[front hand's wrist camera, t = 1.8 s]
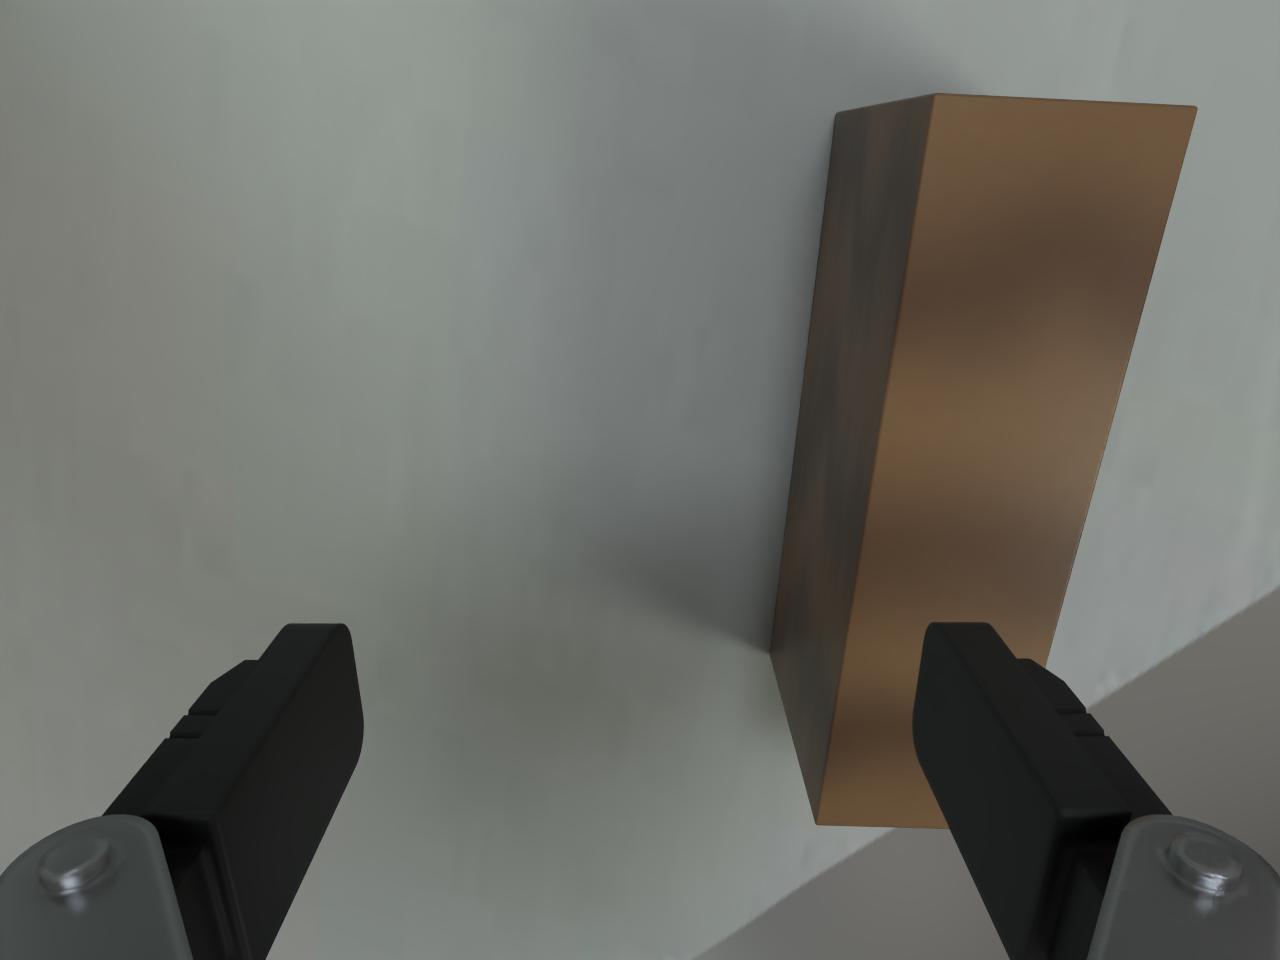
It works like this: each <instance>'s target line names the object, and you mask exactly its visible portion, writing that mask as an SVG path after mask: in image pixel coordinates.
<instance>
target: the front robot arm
mask: <svg viewBox="0 0 1280 960" xmlns="http://www.w3.org/2000/svg"><path fill="white" fill-rule="evenodd" d="M363 732H364V719H363V711H362V704H361V698H360V691H359V684H358V678H357V671H356V664H355V658H354V651H353V644H352V639H351V634H350V631H349V629H348V627H347V626H346V625H345V624H287V625H286V626H284V627H283V628H282V629H281V631H280V632H279V633H278V635H277V636H276V637H275V639H274V640H273V641H272V643H271V644H270V645H269V647H268V648H267V649H266V650H265V652H264V653H263V654H262V656H261V657H260V658H259V660H244V661H243V662H241V663H240V664H238V665H237V666H235V667H234V668H232V669H231V670H229V671H228V672H226V673H225V674H223V675H222V676H220V677H219V678H217V679H216V680H214V681H213V682H211V683H210V684H209V686H208V687H207V688H206V689H205V691H204V692H203V693H202V694H201V695H200V697H199V698H198V699H197V700H196V702H195V703H194V704H193V705H192V706H191V708H190V709H189V713H188V715H184V716H183V717H182V719H181V720H180V721H179V722H178V723H177V725H176V726H175V727H174V728H173V730H172V731H171V732H170V738H165V739H164V741H163V742H162V743H161V744H160V745H159V747H158V748H157V749H156V750H155V752H154V753H153V754H152V755H151V756H150V758H149V759H148V760H147V761H146V763H145V764H144V765H143V766H142V767H141V769H140V770H139V771H138V772H137V774H136V775H135V776H134V777H133V778H132V780H131V781H130V782H129V783H128V784H127V786H126V787H125V788H124V789H123V791H122V792H121V793H120V794H119V795H118V797H117V798H116V799H115V800H114V802H113V803H112V804H111V805H110V806H109V808H108V809H107V810H106V811H105V813H104V814H103V815H102V816H100V817H95V818H91V819H87V820H84V821H81V822H78V823H75V824H72V825H70V826H68V827H65V828H63V829H61V830H58V831H56V832H55V833H53V834H51V835H49V836H47V837H45V838H43V839H42V840H40V841H39V842H37V843H36V844H34V845H33V846H31V847H30V848H29V849H27V850H26V851H25V852H23V853H22V854H21V855H20V856H18V857H17V858H16V859H15V860H14V861H13V862H12V863H11V864H10V865H9V866H8V867H7V869H6V870H5V871H4V872H3V873H2V874H1V876H0V960H265V959H266V957H267V955H268V953H269V951H270V949H271V946H272V944H273V942H274V940H275V938H276V936H277V934H278V932H279V929H280V927H281V925H282V923H283V921H284V919H285V917H286V914H287V912H288V910H289V908H290V906H291V904H292V902H293V899H294V897H295V895H296V893H297V891H298V889H299V887H300V885H301V882H302V880H303V878H304V876H305V874H306V872H307V870H308V867H309V865H310V863H311V861H312V859H313V857H314V855H315V852H316V850H317V848H318V846H319V844H320V842H321V840H322V838H323V835H324V833H325V831H326V829H327V827H328V825H329V823H330V820H331V818H332V816H333V814H334V812H335V810H336V808H337V805H338V803H339V801H340V799H341V797H342V795H343V793H344V791H345V788H346V786H347V784H348V782H349V780H350V778H351V776H352V773H353V771H354V769H355V767H356V765H357V762H358V759H359V756H360V752H361V748H362V742H363ZM912 733H913V742H914V747H915V752H916V755H917V758H918V761H919V764H920V766H921V768H922V770H923V772H924V774H925V777H926V779H927V781H928V783H929V785H930V787H931V790H932V792H933V794H934V796H935V798H936V800H937V803H938V805H939V807H940V809H941V811H942V813H943V816H944V818H945V820H946V822H947V824H948V826H949V829H950V831H951V833H952V835H953V837H954V839H955V842H956V844H957V846H958V848H959V850H960V852H961V855H962V857H963V859H964V861H965V863H966V865H967V867H968V870H969V872H970V874H971V876H972V878H973V880H974V882H975V885H976V887H977V889H978V891H979V893H980V895H981V898H982V900H983V902H984V904H985V906H986V909H987V911H988V913H989V915H990V917H991V919H992V922H993V924H994V926H995V928H996V930H997V932H998V934H999V937H1000V939H1001V941H1002V943H1003V945H1004V947H1005V950H1006V952H1007V954H1008V956H1009V958H1010V960H1280V876H1279V874H1278V873H1277V872H1276V871H1275V870H1274V869H1273V867H1272V866H1271V865H1270V864H1269V863H1268V862H1267V861H1266V860H1265V859H1264V858H1263V857H1261V856H1260V855H1259V854H1258V853H1257V852H1255V851H1254V850H1253V849H1251V848H1250V847H1249V846H1247V845H1246V844H1244V843H1243V842H1241V841H1240V840H1238V839H1237V838H1235V837H1233V836H1231V835H1229V834H1227V833H1225V832H1224V831H1222V830H1219V829H1217V828H1215V827H1212V826H1210V825H1208V824H1205V823H1202V822H1199V821H1196V820H1193V819H1189V818H1185V817H1180V816H1173V815H1172V814H1171V812H1170V811H1169V810H1168V809H1167V807H1166V806H1165V805H1164V804H1163V803H1162V801H1161V800H1160V799H1159V798H1158V796H1157V795H1156V794H1155V793H1154V791H1153V790H1152V789H1151V788H1150V786H1149V785H1148V784H1147V783H1146V782H1145V780H1144V779H1143V778H1142V777H1141V775H1140V774H1139V773H1138V772H1137V771H1136V769H1135V768H1134V767H1133V766H1132V764H1131V763H1130V762H1129V761H1128V759H1127V758H1126V757H1125V756H1124V754H1123V753H1122V752H1121V751H1120V750H1119V748H1118V747H1117V746H1116V745H1115V743H1114V742H1113V741H1112V740H1111V739H1110V737H1109V736H1105V735H1104V730H1103V729H1102V727H1101V726H1100V725H1099V724H1098V722H1097V721H1096V720H1095V719H1094V718H1093V716H1092V715H1091V714H1088V713H1086V708H1085V706H1084V705H1083V704H1082V703H1081V702H1080V700H1079V699H1078V698H1077V697H1076V695H1075V694H1074V693H1073V692H1072V690H1071V689H1070V688H1069V687H1068V686H1067V684H1066V683H1065V682H1064V681H1063V680H1061V679H1060V678H1058V677H1057V676H1055V675H1054V674H1052V673H1051V672H1050V671H1048V670H1047V669H1045V668H1044V667H1042V666H1041V665H1039V664H1038V663H1036V662H1035V661H1033V660H1032V659H1030V658H1016V657H1015V656H1014V654H1013V653H1012V652H1011V650H1010V649H1009V648H1008V646H1007V645H1006V644H1005V642H1004V641H1003V640H1002V638H1001V637H1000V636H999V634H998V633H997V632H996V630H995V629H994V628H993V627H992V626H991V625H990V624H989V623H987V622H932V623H930V624H929V625H928V627H927V629H926V632H925V635H924V641H923V647H922V654H921V661H920V668H919V674H918V681H917V688H916V695H915V701H914V708H913V716H912Z"/></svg>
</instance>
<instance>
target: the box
mask: <svg viewBox="0 0 1280 960" xmlns="http://www.w3.org/2000/svg"><path fill="white" fill-rule="evenodd" d="M1196 113H1197V107H1196V106H1188V105H1168V104H1148V103H1127V102H1107V101H1087V100H1067V99H1047V98H1027V97H1006V96H986V95H966V94H946V93H934V94H929V95H923V96H918V97H913V98H908V99H903V100H898V101H892V102H887V103H882V104H877V105H872V106H867V107H861V108H856V109H851V110H846V111H841V112H837V113H836V119H835V127H834V135H833V143H832V151H831V160H830V168H829V176H828V184H827V192H826V200H825V209H824V217H823V225H822V233H821V241H820V250H819V258H818V266H817V274H816V282H815V290H814V299H813V307H812V315H811V323H810V331H809V339H808V348H807V356H806V364H805V372H804V380H803V389H802V397H801V405H800V413H799V421H798V429H797V438H796V446H795V454H794V462H793V470H792V478H791V487H790V495H789V503H788V511H787V519H786V528H785V536H784V544H783V552H782V560H781V568H780V577H779V585H778V593H777V601H776V609H775V617H774V626H773V634H772V642H771V650H770V657H771V661H772V665H773V668H774V672H775V676H776V679H777V683H778V687H779V691H780V694H781V698H782V702H783V705H784V709H785V713H786V717H787V720H788V724H789V728H790V731H791V735H792V739H793V743H794V746H795V750H796V754H797V757H798V761H799V765H800V768H801V772H802V776H803V780H804V783H805V787H806V791H807V794H808V798H809V802H810V806H811V809H812V813H813V817H814V820H815V824H816V825H831V826H865V827H899V828H934V829H949V826H948V824H947V822H946V820H945V818H944V816H943V813H942V811H941V809H940V807H939V805H938V803H937V800H936V798H935V796H934V794H933V792H932V790H931V787H930V785H929V783H928V781H927V779H926V777H925V774H924V772H923V770H922V768H921V766H920V764H919V761H918V758H917V755H916V752H915V747H914V742H913V733H912V716H913V708H914V701H915V695H916V688H917V681H918V674H919V668H920V661H921V654H922V647H923V641H924V635H925V632H926V629H927V627H928V625H929V624H930V623H932V622H987V623H989V624H990V625H991V626H992V627H993V628H994V629H995V630H996V632H997V633H998V634H999V636H1000V637H1001V638H1002V640H1003V641H1004V642H1005V644H1006V645H1007V646H1008V648H1009V649H1010V650H1011V652H1012V653H1013V654H1014V656H1015V657H1016V658H1030V659H1032V660H1033V661H1035V662H1036V663H1038V664H1039V665H1041V666H1042V667H1044V668H1045V666H1046V663H1047V659H1048V655H1049V652H1050V648H1051V644H1052V641H1053V637H1054V633H1055V630H1056V626H1057V622H1058V619H1059V615H1060V611H1061V608H1062V604H1063V600H1064V597H1065V593H1066V589H1067V586H1068V582H1069V578H1070V575H1071V571H1072V567H1073V564H1074V560H1075V556H1076V553H1077V549H1078V545H1079V542H1080V538H1081V534H1082V531H1083V527H1084V523H1085V520H1086V516H1087V512H1088V509H1089V505H1090V501H1091V498H1092V494H1093V490H1094V487H1095V483H1096V479H1097V476H1098V472H1099V468H1100V465H1101V461H1102V457H1103V454H1104V450H1105V446H1106V443H1107V439H1108V435H1109V432H1110V428H1111V424H1112V421H1113V417H1114V413H1115V410H1116V406H1117V402H1118V399H1119V395H1120V392H1121V388H1122V384H1123V381H1124V377H1125V373H1126V370H1127V366H1128V362H1129V359H1130V355H1131V351H1132V348H1133V344H1134V340H1135V337H1136V333H1137V329H1138V326H1139V322H1140V318H1141V315H1142V311H1143V307H1144V304H1145V300H1146V296H1147V293H1148V289H1149V285H1150V282H1151V278H1152V274H1153V271H1154V267H1155V263H1156V260H1157V256H1158V252H1159V249H1160V245H1161V241H1162V238H1163V234H1164V230H1165V227H1166V223H1167V219H1168V216H1169V212H1170V208H1171V205H1172V201H1173V197H1174V194H1175V190H1176V186H1177V183H1178V179H1179V175H1180V172H1181V168H1182V164H1183V161H1184V157H1185V153H1186V150H1187V146H1188V142H1189V139H1190V135H1191V131H1192V128H1193V124H1194V120H1195V117H1196Z"/></svg>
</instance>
